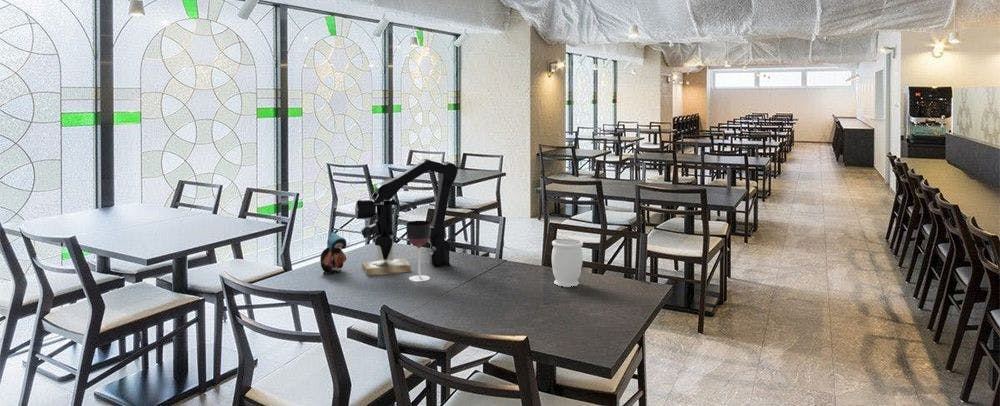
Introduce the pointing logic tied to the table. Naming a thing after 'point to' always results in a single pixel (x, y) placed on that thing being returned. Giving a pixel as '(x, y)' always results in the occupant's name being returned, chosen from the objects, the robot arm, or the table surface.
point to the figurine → (333, 255)
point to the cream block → (380, 256)
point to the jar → (567, 261)
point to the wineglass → (418, 241)
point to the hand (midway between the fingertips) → (385, 258)
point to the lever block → (386, 267)
